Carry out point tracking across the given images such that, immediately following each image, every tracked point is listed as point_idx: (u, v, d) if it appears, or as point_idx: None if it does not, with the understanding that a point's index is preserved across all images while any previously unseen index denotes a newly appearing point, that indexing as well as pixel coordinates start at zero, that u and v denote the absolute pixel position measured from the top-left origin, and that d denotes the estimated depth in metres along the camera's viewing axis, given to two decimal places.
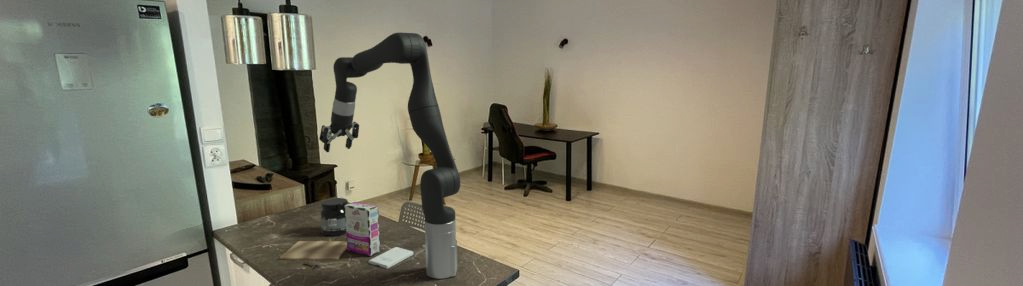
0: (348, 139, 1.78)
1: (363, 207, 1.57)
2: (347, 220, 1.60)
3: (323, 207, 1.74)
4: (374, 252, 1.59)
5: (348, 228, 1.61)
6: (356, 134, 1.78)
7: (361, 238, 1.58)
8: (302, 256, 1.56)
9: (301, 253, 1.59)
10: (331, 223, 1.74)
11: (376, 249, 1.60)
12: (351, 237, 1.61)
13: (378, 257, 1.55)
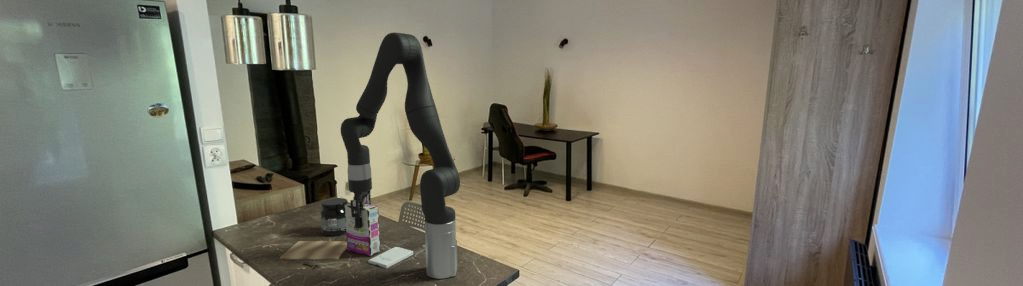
0: None
1: None
2: (347, 220, 1.60)
3: (323, 207, 1.74)
4: (374, 252, 1.59)
5: (348, 228, 1.61)
6: (369, 201, 1.65)
7: (361, 238, 1.58)
8: (302, 256, 1.56)
9: (301, 253, 1.59)
10: (331, 223, 1.74)
11: (376, 249, 1.60)
12: (351, 237, 1.61)
13: (378, 257, 1.55)
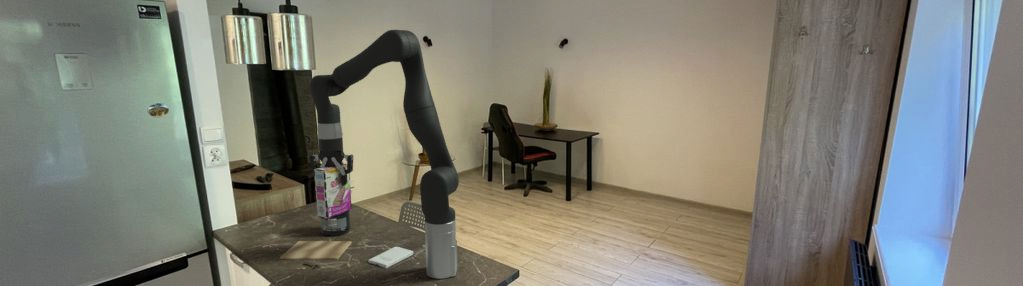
0: None
1: None
2: None
3: None
4: (321, 215, 1.55)
5: None
6: (348, 168, 1.56)
7: None
8: (302, 256, 1.56)
9: (301, 253, 1.59)
10: (331, 223, 1.74)
11: (323, 214, 1.54)
12: None
13: (378, 256, 1.55)
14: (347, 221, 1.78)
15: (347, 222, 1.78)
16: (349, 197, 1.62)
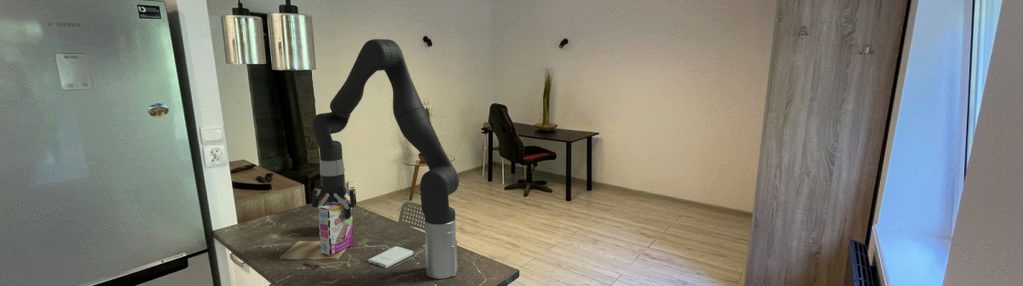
0: None
1: (327, 205, 1.57)
2: None
3: None
4: (324, 252, 1.57)
5: None
6: (351, 202, 1.58)
7: None
8: (302, 256, 1.56)
9: (301, 253, 1.59)
10: None
11: (326, 251, 1.57)
12: None
13: (378, 256, 1.55)
14: None
15: None
16: (351, 233, 1.64)
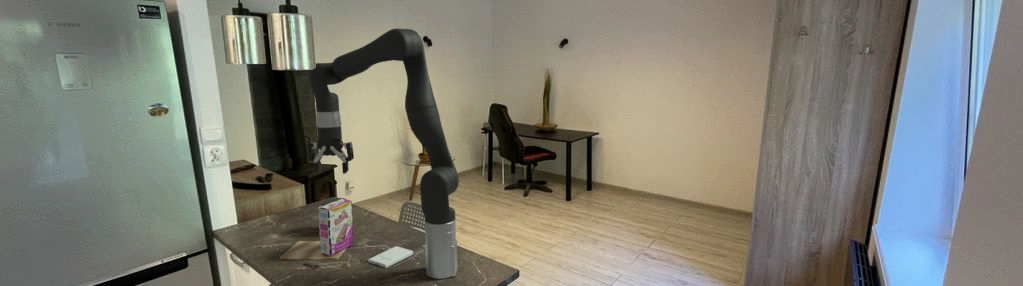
0: None
1: (327, 205, 1.57)
2: None
3: None
4: (324, 252, 1.57)
5: None
6: (348, 155, 1.55)
7: None
8: (302, 256, 1.56)
9: (301, 253, 1.59)
10: None
11: (326, 251, 1.57)
12: None
13: (378, 256, 1.56)
14: None
15: None
16: (351, 233, 1.64)
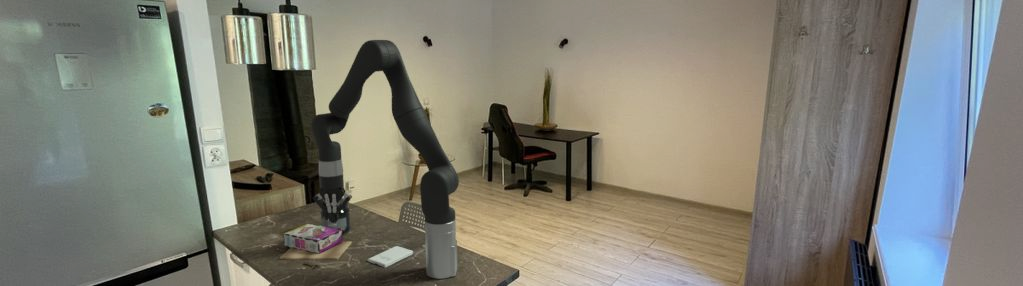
0: (332, 210, 1.60)
1: None
2: None
3: None
4: (317, 248, 1.58)
5: None
6: (341, 206, 1.58)
7: None
8: (302, 256, 1.56)
9: (301, 253, 1.59)
10: (331, 223, 1.74)
11: (315, 245, 1.58)
12: None
13: (377, 256, 1.56)
14: (347, 221, 1.78)
15: (347, 222, 1.78)
16: (330, 228, 1.68)
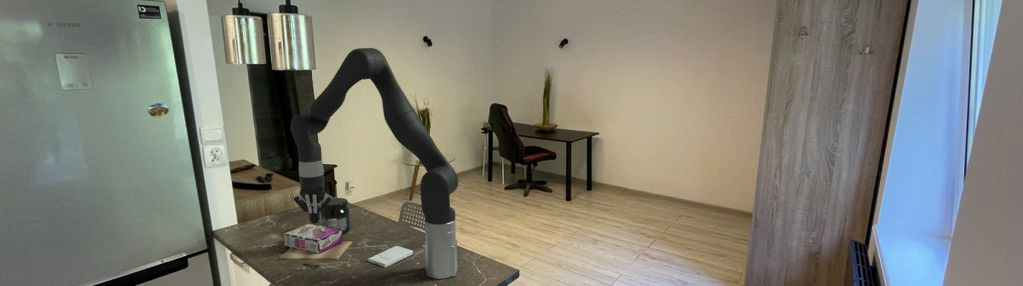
0: (313, 210, 1.60)
1: None
2: None
3: None
4: (317, 248, 1.58)
5: None
6: (321, 207, 1.58)
7: None
8: (302, 256, 1.56)
9: (301, 253, 1.59)
10: (331, 223, 1.74)
11: (315, 245, 1.58)
12: None
13: (377, 255, 1.56)
14: (347, 221, 1.78)
15: (347, 222, 1.78)
16: (330, 228, 1.68)
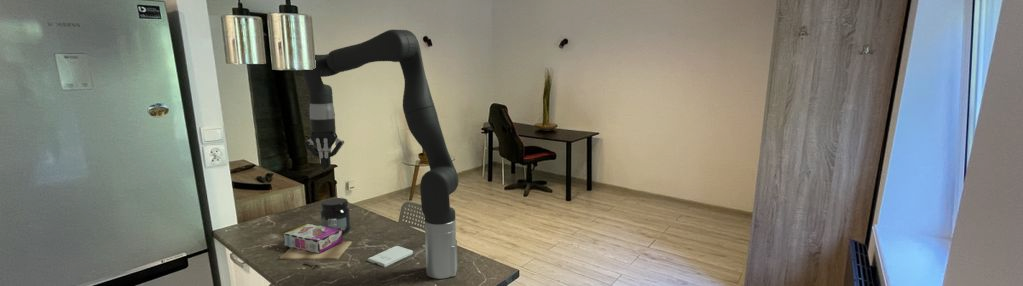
0: (324, 156, 1.56)
1: None
2: None
3: (323, 207, 1.74)
4: (317, 248, 1.58)
5: None
6: (333, 151, 1.55)
7: None
8: (302, 256, 1.56)
9: (301, 253, 1.59)
10: (331, 223, 1.74)
11: (315, 245, 1.58)
12: None
13: (377, 255, 1.56)
14: (347, 221, 1.78)
15: (347, 222, 1.78)
16: (330, 228, 1.68)
